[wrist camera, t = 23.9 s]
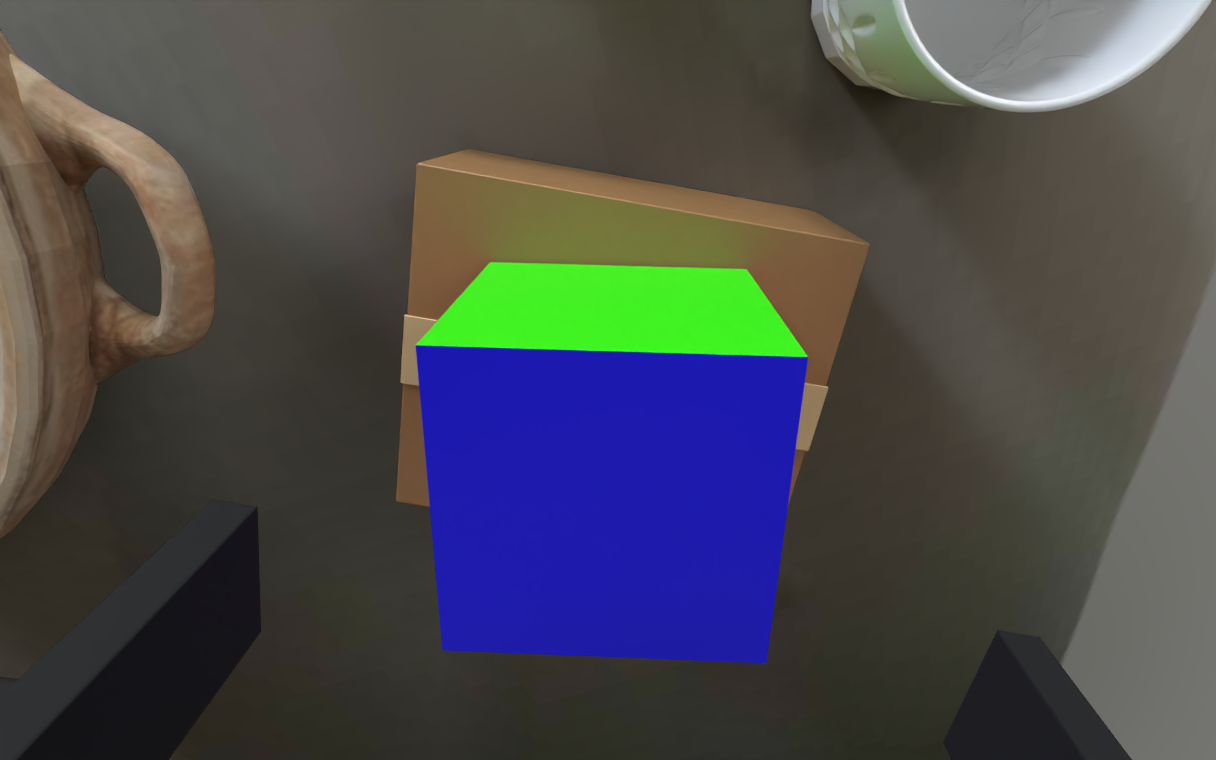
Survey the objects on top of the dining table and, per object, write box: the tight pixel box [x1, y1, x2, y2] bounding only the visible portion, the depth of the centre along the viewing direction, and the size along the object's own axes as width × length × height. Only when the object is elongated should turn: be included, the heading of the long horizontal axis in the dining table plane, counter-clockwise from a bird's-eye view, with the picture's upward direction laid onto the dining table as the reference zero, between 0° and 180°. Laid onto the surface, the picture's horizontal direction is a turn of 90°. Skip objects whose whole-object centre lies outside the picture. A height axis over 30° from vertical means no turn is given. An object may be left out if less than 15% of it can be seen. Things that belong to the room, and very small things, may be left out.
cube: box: [416, 262, 808, 663], centre depth 19 cm, size 8×8×8 cm
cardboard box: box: [396, 149, 870, 507], centre depth 26 cm, size 14×12×7 cm
